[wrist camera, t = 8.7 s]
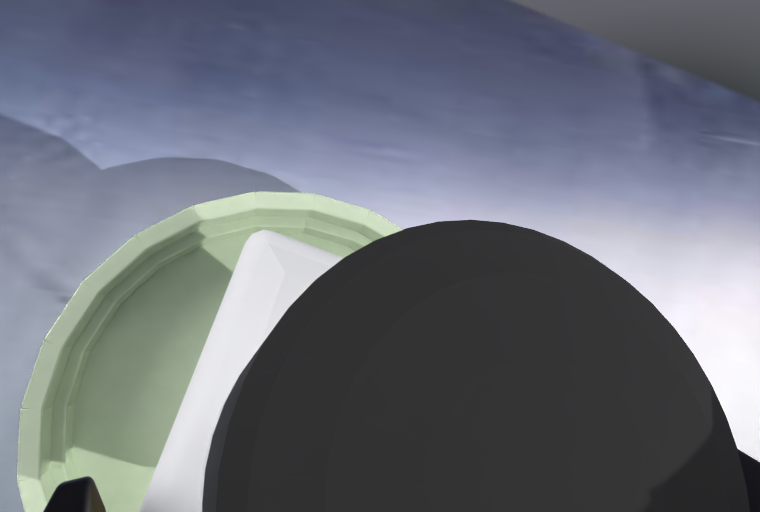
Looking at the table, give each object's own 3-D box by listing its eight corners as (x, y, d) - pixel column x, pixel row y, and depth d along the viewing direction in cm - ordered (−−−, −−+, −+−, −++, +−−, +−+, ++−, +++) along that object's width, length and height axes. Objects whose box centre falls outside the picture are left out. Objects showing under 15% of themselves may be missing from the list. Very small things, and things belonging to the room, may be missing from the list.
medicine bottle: (223, 310, 17) (312, 46, 6) (449, 389, 19) (837, 280, 8) (114, 588, 14) (-58, 955, 4) (391, 657, 16) (872, 1072, 5)
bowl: (482, 608, 23) (520, 646, 20) (35, 680, 19) (3, 740, 16) (462, 215, 25) (494, 198, 22) (54, 205, 21) (29, 183, 18)
